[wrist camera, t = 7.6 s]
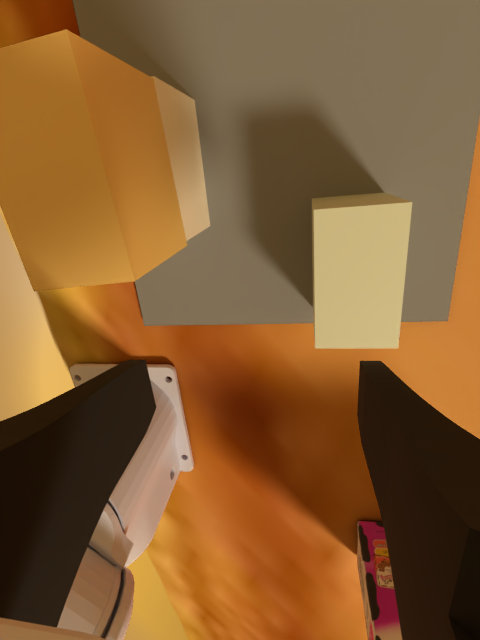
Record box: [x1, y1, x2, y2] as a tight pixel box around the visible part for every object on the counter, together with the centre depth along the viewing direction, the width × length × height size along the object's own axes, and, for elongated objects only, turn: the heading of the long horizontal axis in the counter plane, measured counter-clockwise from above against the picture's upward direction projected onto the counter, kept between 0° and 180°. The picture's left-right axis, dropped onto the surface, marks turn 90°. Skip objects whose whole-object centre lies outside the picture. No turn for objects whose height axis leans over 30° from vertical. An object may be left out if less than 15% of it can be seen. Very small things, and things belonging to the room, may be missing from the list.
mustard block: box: [0, 29, 187, 291], centre depth 12 cm, size 6×4×5 cm, turn 8°
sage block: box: [312, 192, 412, 348], centre depth 16 cm, size 6×4×5 cm, turn 5°
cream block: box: [152, 76, 210, 241], centre depth 16 cm, size 6×4×5 cm, turn 6°
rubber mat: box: [72, 0, 480, 326], centre depth 17 cm, size 18×18×1 cm
